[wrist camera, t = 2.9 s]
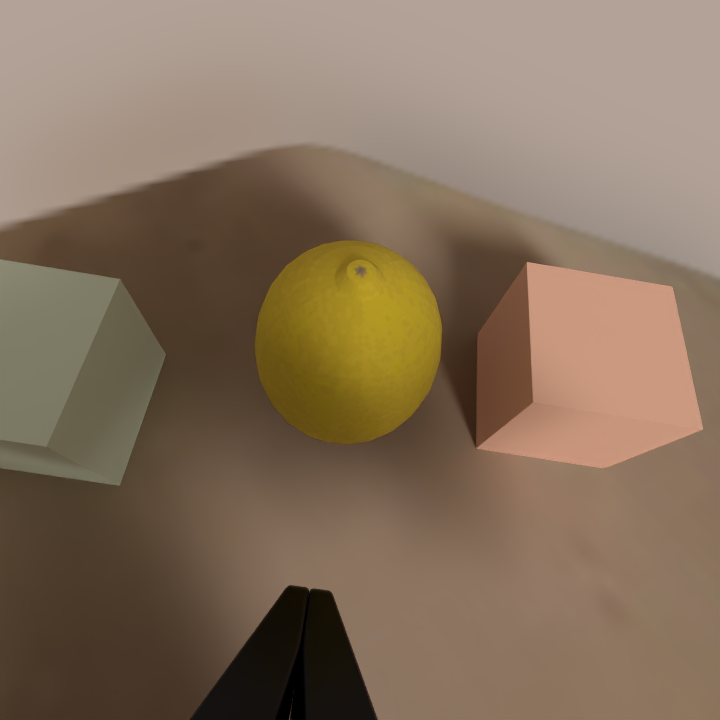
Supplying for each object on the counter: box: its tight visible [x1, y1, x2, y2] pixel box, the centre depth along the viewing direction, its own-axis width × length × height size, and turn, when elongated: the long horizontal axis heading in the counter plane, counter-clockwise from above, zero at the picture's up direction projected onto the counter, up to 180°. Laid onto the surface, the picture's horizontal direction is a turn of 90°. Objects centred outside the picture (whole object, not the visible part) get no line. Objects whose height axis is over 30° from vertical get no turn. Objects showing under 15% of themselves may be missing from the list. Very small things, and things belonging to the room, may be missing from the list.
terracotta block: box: [476, 262, 703, 468], centre depth 17 cm, size 5×5×5 cm
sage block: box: [0, 259, 166, 486], centre depth 14 cm, size 5×5×5 cm
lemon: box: [255, 240, 442, 444], centre depth 14 cm, size 6×6×8 cm
